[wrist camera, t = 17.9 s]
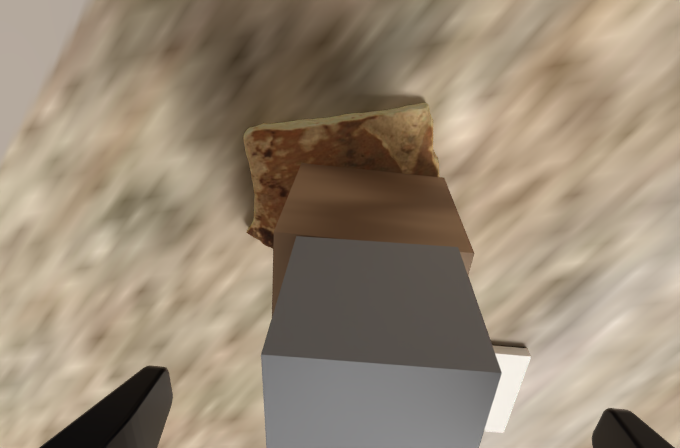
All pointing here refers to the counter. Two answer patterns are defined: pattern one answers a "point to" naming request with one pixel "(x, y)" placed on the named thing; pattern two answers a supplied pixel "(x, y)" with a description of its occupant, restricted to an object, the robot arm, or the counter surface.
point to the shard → (334, 153)
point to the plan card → (507, 385)
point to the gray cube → (376, 349)
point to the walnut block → (366, 212)
